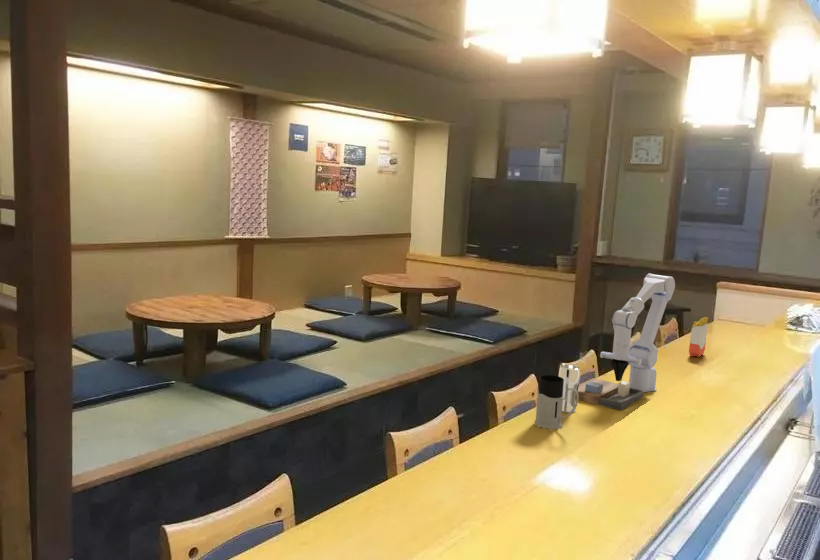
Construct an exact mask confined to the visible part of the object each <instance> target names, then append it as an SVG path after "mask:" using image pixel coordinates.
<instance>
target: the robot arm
mask: <svg viewBox="0 0 820 560" xmlns="http://www.w3.org/2000/svg"><path fill="white" fill-rule="evenodd" d="M675 289H676V282H675V278H674V277H673V276H670V275H669V276H668V275H660V274H654V273H648V274H646V275H645V277H644V278H643V286H642V287H641V289H640V290H639V292H638V293H637V295H636V296H634V297H631V298H629V300H628V301H627V302H626V303H625V305H624V306H622V308H621V309H618V310H616V311H615V312H614V313H613V315H612V318H611V322H612V324H613V325H612V327H613V331H614V334H613V335H614V336H613V345H612V346H613V347H612V352H608V351H601V352H600V356H599V358H601V359H609V360H611V361H610V365H611V367H612V369H613V372H614V377H615V381H617V382H622V381H623V376H624V373H625V371H626V369H627V367H628V366H630V367H629V368H630V369H629V378H628V382H630V388H633V389H638V390H642V391H643V393H648V392H654V391H657V390H658V389H656V385H657V384H656V383H657V370H656V368H655V367H654V366H655V365H656V364H657V361H658V353H659V350H658V348H657V346H656V345H655V343H654V341H655V339H656V336H657V333H658V330H659V328H660V324H661V322H662V319H663V317H664V316H663V315H664V313H665V310H666V307H667V304H668V302H669V301H671V300H672V297H673V294H674V292H675ZM650 298H651V300H652V302H651V304H650V308H649V310H648V313H647V316H646V319H645V322H644V325H643V328H642V329H641V330H642V331H641V334H640V337H639V338H638V339H636V340H634V341H632V342H631V338H632V328H634V327H635V325H636V321H637V320H638V316H639V315H640V314H641V312H642V311H643V310H644V309H645V303H646V301H648V300H649V299H650Z"/></svg>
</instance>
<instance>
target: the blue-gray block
mask: <svg viewBox="0 0 820 560" xmlns="http://www.w3.org/2000/svg"><path fill="white" fill-rule="evenodd" d="M585 391H588V392H592V393H596V394H598V393H600V392H602V391H603V384H600V383H595V382H589V383H587V384H586V388H585Z"/></svg>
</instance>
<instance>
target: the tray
mask: <svg viewBox="0 0 820 560" xmlns="http://www.w3.org/2000/svg"><path fill="white" fill-rule="evenodd" d="M617 394H618V393H616V394H614V395H612V396H611V397H609V398H607V399H605V398H600V405H599V406H601V407H606V408H611V409H615V410H619V411H622V410H624V409H626V408H627V407H629V406H631V405H632V404H634V403H636V402H637V401H639V400H641V399H643V395H644V392H643V391H642V390H638V389H633V388H629V395H627V396H625V397H622V396H618V395H617Z"/></svg>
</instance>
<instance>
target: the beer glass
mask: <svg viewBox="0 0 820 560" xmlns="http://www.w3.org/2000/svg"><path fill="white" fill-rule="evenodd" d="M558 377H561V378H563V379H564V385H563V398H565V392H566V390H567V389H569V388H573V389H575V390H576V391H578V387H579V384H580V381H581V367H580V366H579V365H577V364H572V363H569V364H568V363H563V364H562V363H561V364H560V366H559V371H558ZM576 400H577V399H576V392H575V391H574V390H572V389H570V390H569V391H568V392H567V397H566V399H564V400H563V404H562V413H567V414H569V413H570V412H571V411H572V410H573V408H574V407H575V404H576ZM576 411H577V407H576V408H575V410H574V411H573V412H572V413H571V414H573V413H575V412H576Z"/></svg>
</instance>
